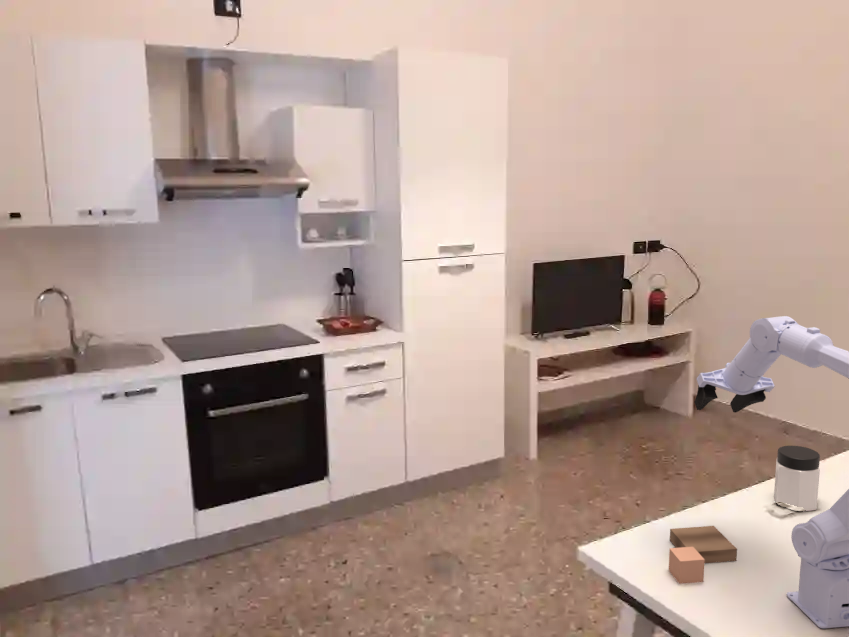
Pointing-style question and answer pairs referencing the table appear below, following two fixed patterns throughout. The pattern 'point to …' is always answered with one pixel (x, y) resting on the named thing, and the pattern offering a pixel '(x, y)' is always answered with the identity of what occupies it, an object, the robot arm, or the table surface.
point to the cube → (686, 565)
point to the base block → (705, 543)
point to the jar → (797, 477)
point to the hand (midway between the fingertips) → (715, 407)
